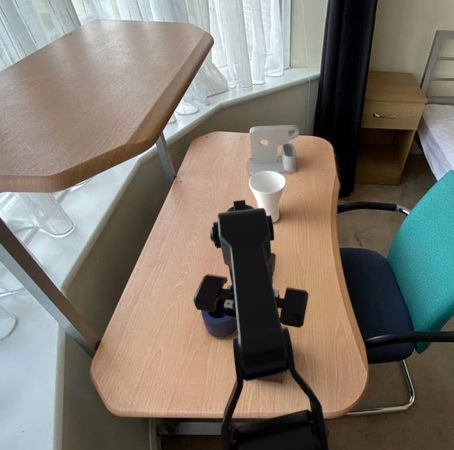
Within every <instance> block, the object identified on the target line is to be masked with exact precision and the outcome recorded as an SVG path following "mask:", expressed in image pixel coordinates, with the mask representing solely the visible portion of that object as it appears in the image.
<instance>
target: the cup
mask: <svg viewBox="0 0 454 450" xmlns="http://www.w3.org/2000/svg"><path fill="white" fill-rule="evenodd" d="M248 185H249V187H250V189H251V191H252V193H253V195H254V198H255V200H256V203H257V208H264V209H265V211H266V215H271V217H272V222H273V223H276V222H277V221H278V220H279V219H280V210H279V209H280V208H279V207H280V201H281V198H282V195H283V193H284V190H285V187H286V185H287V179H286V178H285V176H284V175H283V174H282V173H277V172H274V171H262V172H258V173H256V174H254V175H252V176H251V177H250V178H249V181H248Z"/></svg>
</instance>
